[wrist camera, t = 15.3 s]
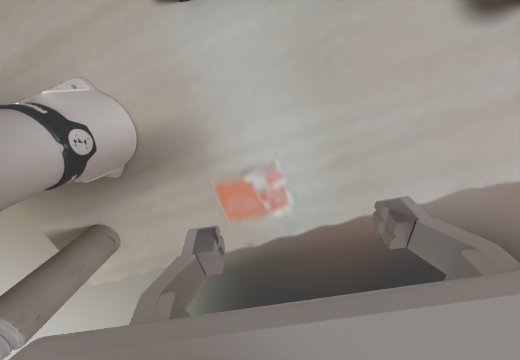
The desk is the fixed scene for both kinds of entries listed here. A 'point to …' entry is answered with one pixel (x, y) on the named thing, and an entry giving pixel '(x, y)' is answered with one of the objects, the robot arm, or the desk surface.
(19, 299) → the thermos bottle
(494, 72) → the desk surface
